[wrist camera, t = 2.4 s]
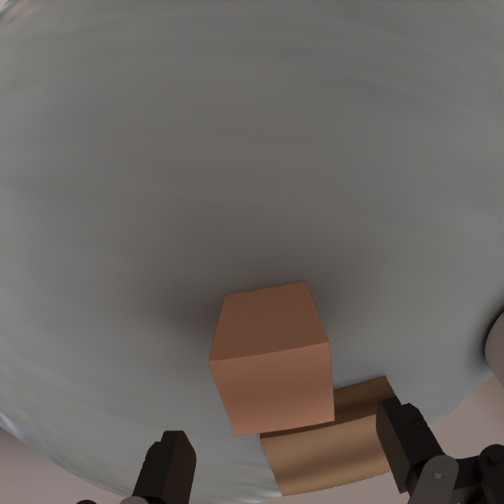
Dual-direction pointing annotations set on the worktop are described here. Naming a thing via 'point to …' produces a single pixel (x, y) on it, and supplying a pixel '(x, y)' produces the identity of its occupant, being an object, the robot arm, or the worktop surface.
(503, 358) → the cup
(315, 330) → the terracotta block
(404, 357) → the worktop surface
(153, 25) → the worktop surface
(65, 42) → the worktop surface
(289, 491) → the walnut block
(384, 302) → the worktop surface
